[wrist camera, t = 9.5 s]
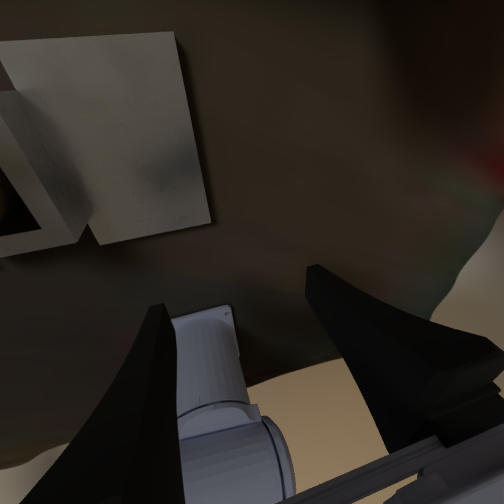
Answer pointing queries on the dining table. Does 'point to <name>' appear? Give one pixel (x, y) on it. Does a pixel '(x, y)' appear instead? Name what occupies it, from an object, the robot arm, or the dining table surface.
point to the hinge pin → (7, 195)
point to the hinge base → (97, 141)
